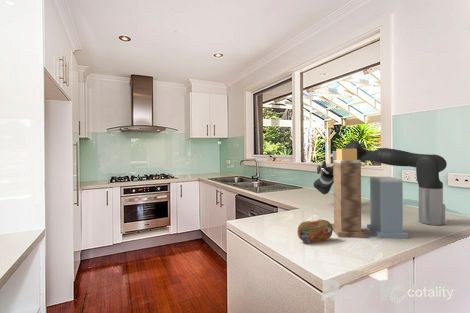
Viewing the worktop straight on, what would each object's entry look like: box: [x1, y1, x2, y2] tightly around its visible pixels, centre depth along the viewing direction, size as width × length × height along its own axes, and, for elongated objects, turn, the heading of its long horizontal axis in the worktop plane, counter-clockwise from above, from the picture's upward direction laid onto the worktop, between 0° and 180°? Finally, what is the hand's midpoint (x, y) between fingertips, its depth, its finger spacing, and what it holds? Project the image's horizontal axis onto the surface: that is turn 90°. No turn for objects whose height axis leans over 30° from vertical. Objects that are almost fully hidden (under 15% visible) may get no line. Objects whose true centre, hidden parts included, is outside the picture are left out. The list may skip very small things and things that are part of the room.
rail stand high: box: [330, 159, 367, 239], centre depth 105 cm, size 11×12×32 cm
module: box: [332, 148, 357, 161], centre depth 110 cm, size 6×18×5 cm, turn 172°
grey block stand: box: [366, 176, 409, 240], centre depth 103 cm, size 11×12×24 cm
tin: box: [297, 219, 334, 244], centre depth 97 cm, size 15×3×8 cm, turn 105°
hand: (333, 163), depth 125 cm, fingers open, 8 cm apart
